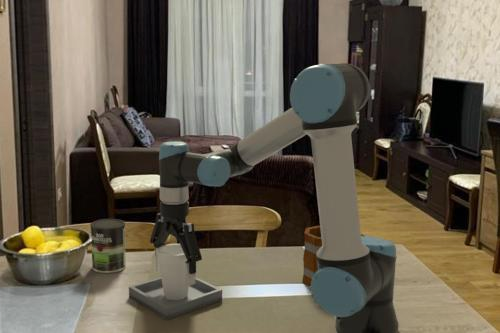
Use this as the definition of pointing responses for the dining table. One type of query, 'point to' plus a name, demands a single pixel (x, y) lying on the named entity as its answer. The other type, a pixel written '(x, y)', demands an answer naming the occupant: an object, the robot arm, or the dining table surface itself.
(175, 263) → the foam cup
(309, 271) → the mug
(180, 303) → the tray
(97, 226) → the coffee can
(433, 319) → the dining table surface
